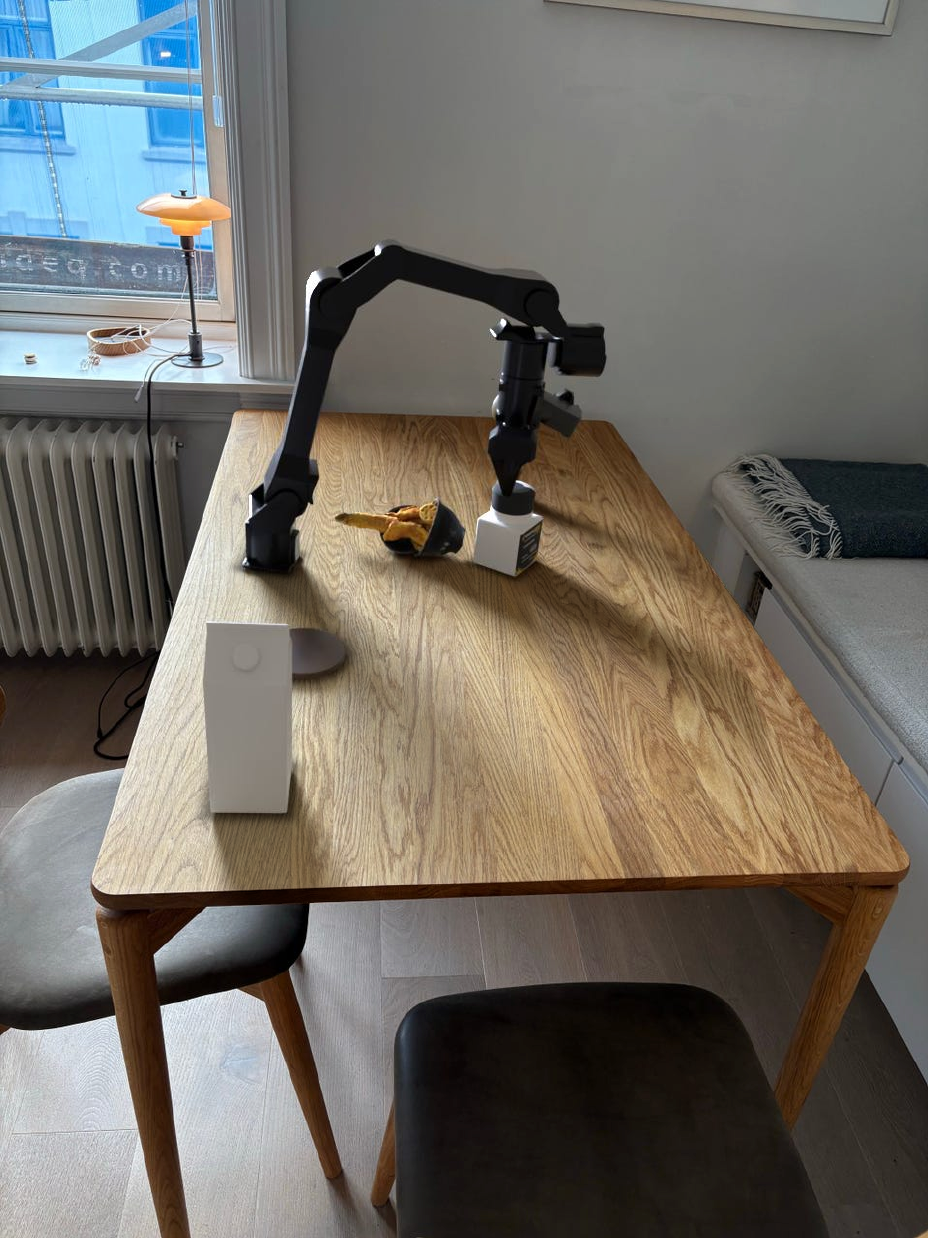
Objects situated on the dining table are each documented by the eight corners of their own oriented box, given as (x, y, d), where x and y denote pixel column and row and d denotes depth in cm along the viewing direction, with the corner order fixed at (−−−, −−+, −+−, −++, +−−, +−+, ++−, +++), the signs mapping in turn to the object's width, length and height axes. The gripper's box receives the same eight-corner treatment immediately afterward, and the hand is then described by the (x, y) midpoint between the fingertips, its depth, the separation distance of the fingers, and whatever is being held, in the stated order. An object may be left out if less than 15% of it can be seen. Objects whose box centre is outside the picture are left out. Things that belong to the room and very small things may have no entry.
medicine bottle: (515, 578, 135) (526, 500, 129) (472, 562, 138) (480, 486, 131) (537, 560, 140) (548, 484, 134) (495, 545, 143) (504, 471, 137)
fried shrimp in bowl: (470, 546, 132) (348, 499, 127) (441, 589, 140) (325, 547, 136) (478, 498, 137) (361, 452, 133) (449, 543, 146) (338, 501, 141)
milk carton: (220, 764, 95) (211, 601, 85) (292, 765, 96) (292, 604, 86) (210, 814, 89) (200, 644, 79) (287, 814, 90) (286, 646, 80)
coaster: (249, 673, 109) (249, 667, 109) (273, 628, 118) (273, 622, 117) (335, 684, 109) (335, 678, 108) (352, 638, 117) (353, 633, 117)
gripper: (583, 403, 117) (565, 518, 125) (583, 361, 133) (566, 466, 141) (494, 391, 117) (481, 507, 125) (504, 352, 133) (492, 456, 141)
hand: (508, 483), depth 133 cm, fingers open, 9 cm apart
